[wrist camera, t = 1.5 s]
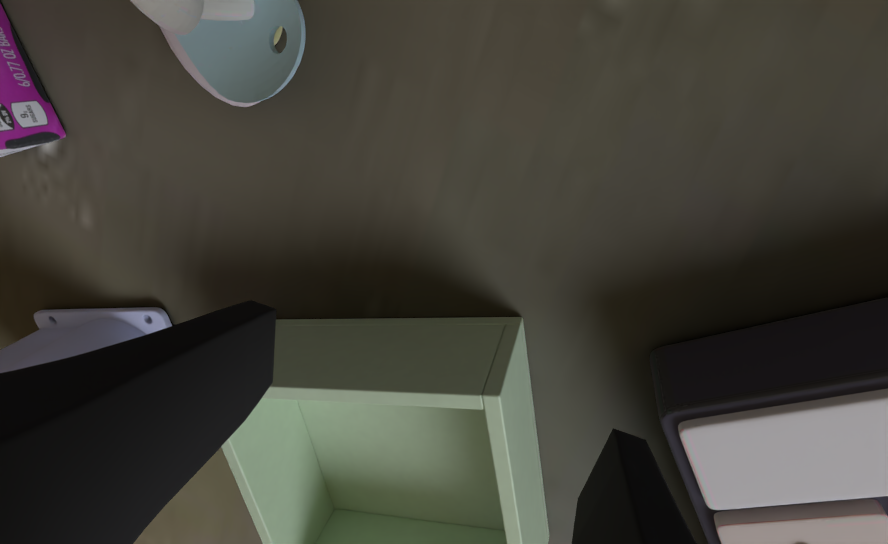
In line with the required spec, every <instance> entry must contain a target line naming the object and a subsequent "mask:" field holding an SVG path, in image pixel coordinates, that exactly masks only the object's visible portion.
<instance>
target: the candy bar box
mask: <svg viewBox="0 0 888 544" xmlns="http://www.w3.org/2000/svg"><path fill="white" fill-rule="evenodd" d="M64 137H66V133H65V131H64V129H63V127H62V125H61V123H60V121H59V119H58V117H57V115H56V113H55V111H54V109H53V107H52V105H51V103H50V101H49V99H48V98H47V96H46V94H45V92H44V89H43V87H42V85H41V83H40V81H39V79H38V77H37V75H36V73H35V71H34V69H33V67H32V65H31V63H30V61H29V59H28V57H27V55H26V53H25V51H24V49H23V47H22V45H21V43H20V41H19V39H18V37H17V35H16V33H15V31H14V29H13V27H12V26H11V24H10V22H9V20H8V18H7V15H6V13H5V11H4V9H3V7H2V5H1V4H0V157H2V156H6V155H9V154H12V153H15V152H19V151H22V150H26V149H29V148H33V147H36V146H39V145H43V144H46V143H49V142H53V141H56V140H59V139H62V138H64Z"/></svg>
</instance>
